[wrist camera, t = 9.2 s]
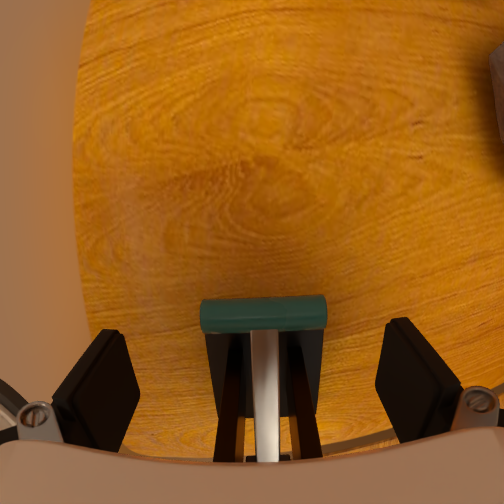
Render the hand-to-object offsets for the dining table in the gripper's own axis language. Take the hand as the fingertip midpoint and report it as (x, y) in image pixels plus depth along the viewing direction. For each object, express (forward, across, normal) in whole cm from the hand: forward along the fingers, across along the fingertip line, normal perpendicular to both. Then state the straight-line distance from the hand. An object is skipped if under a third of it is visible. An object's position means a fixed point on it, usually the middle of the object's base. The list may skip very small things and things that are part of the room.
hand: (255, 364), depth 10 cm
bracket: (+11, 0, +8) cm, 13 cm away
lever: (+2, 0, +4) cm, 5 cm away
